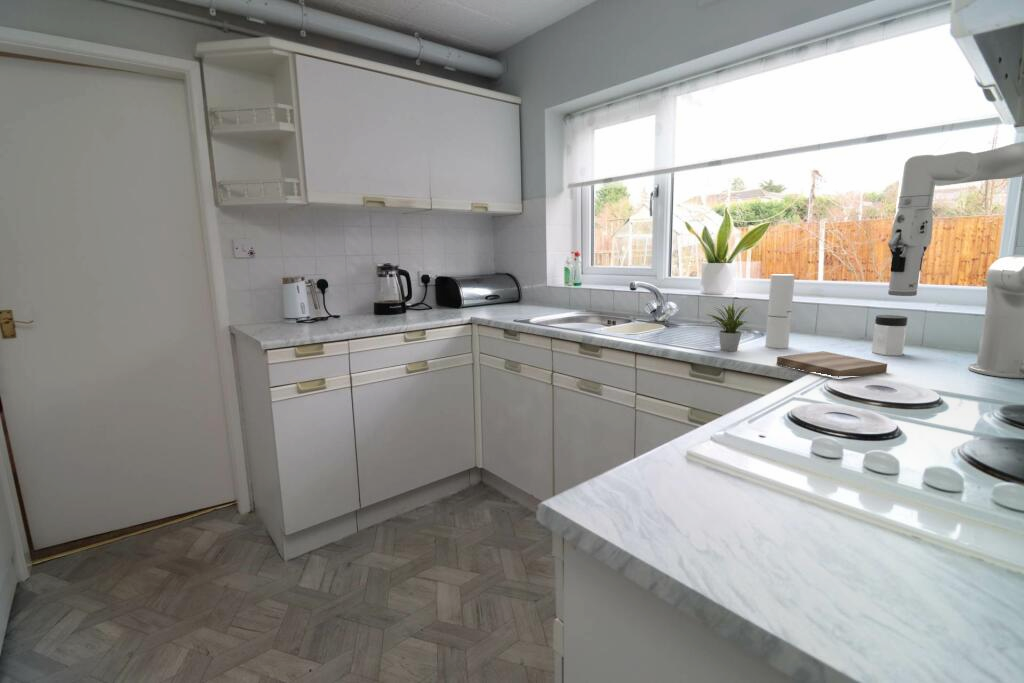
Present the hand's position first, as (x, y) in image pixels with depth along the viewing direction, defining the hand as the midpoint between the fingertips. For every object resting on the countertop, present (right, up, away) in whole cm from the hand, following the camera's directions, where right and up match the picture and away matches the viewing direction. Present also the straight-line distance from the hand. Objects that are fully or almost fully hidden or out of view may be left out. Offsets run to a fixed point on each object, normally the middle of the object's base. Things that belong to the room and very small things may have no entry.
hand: (905, 270), depth 138 cm
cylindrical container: (-16, -21, +38) cm, 46 cm away
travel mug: (0, -7, +1) cm, 7 cm away
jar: (+13, -23, +25) cm, 37 cm away
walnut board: (-18, -27, +5) cm, 33 cm away
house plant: (-33, -22, +34) cm, 53 cm away
